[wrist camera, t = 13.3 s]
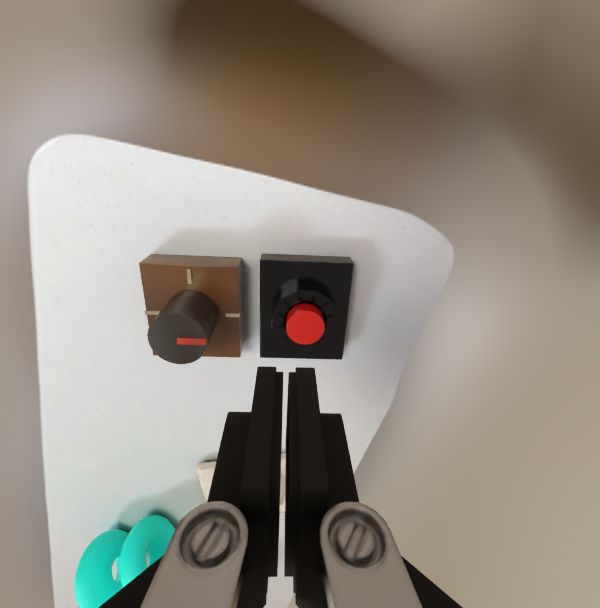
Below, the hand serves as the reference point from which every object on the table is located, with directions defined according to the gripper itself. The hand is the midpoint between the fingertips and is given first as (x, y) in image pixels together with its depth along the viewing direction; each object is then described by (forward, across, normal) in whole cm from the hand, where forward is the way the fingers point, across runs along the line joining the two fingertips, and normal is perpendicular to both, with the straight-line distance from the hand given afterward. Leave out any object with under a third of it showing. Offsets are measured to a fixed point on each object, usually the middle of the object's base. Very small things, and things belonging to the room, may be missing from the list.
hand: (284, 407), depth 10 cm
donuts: (+25, +20, +46) cm, 56 cm away
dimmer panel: (+25, +9, +8) cm, 28 cm away
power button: (+22, -2, +8) cm, 23 cm away
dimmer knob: (+22, +9, +8) cm, 25 cm away
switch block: (+25, -2, +8) cm, 26 cm away
